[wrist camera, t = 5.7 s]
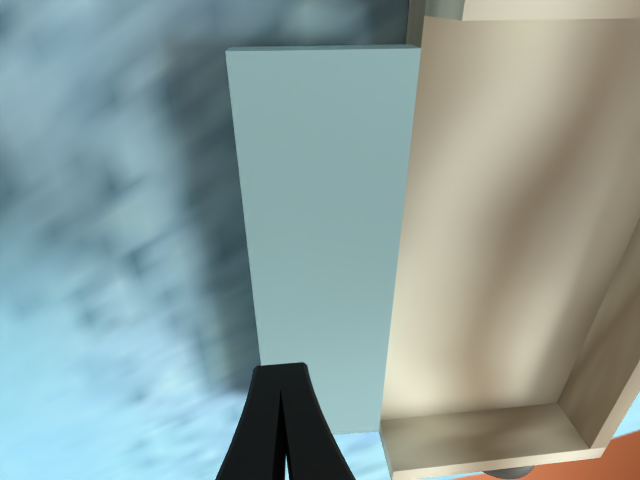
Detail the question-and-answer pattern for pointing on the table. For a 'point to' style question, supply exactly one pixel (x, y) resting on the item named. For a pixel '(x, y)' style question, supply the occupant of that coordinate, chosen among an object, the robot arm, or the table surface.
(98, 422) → the table surface
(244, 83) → the tailgate
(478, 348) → the beige tray
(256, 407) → the robot arm
